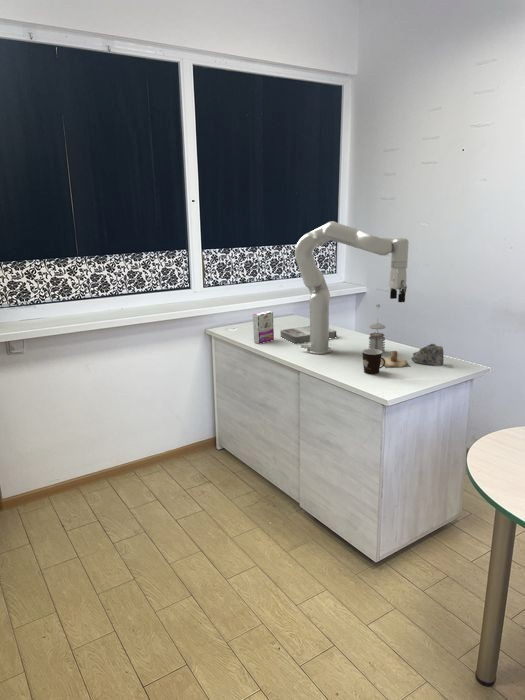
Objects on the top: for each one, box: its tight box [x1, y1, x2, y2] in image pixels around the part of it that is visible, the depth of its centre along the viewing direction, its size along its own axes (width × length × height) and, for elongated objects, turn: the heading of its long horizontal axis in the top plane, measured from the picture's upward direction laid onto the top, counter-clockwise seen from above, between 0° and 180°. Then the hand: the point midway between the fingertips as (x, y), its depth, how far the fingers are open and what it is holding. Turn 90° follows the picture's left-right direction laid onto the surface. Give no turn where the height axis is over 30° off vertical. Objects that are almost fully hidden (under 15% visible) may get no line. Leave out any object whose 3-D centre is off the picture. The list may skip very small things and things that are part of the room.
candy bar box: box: [252, 310, 275, 344], centre depth 279 cm, size 11×5×16 cm, turn 131°
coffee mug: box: [361, 348, 385, 375], centre depth 221 cm, size 12×9×10 cm
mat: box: [380, 363, 412, 369], centre depth 235 cm, size 12×12×1 cm
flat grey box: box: [280, 325, 338, 345], centre depth 287 cm, size 18×27×4 cm
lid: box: [380, 350, 408, 368], centre depth 234 cm, size 12×12×6 cm
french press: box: [368, 303, 386, 355], centre depth 249 cm, size 10×12×25 cm
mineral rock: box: [411, 343, 445, 367], centre depth 233 cm, size 13×11×10 cm
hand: (397, 300), depth 245 cm, fingers open, 9 cm apart
